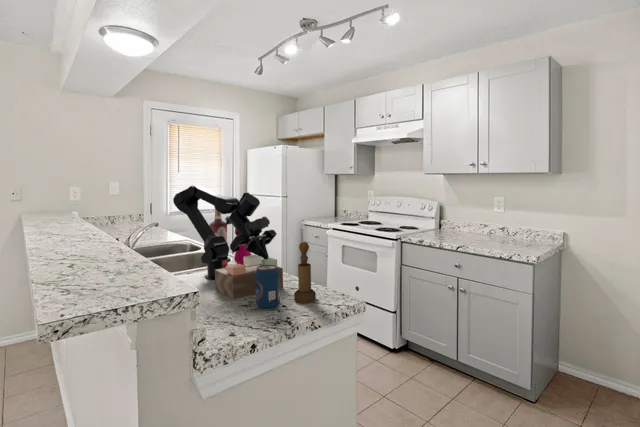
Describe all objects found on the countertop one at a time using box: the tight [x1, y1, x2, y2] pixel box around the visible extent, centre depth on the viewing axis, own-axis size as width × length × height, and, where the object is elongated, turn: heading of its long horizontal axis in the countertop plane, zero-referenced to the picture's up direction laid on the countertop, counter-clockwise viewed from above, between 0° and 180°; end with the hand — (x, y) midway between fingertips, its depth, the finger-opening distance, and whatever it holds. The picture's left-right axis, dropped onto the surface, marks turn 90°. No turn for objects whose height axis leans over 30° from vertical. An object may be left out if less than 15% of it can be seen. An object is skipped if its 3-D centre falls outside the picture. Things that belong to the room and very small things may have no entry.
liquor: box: [208, 206, 229, 268], centre depth 158 cm, size 7×7×28 cm
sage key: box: [260, 257, 278, 267], centre depth 128 cm, size 4×4×2 cm
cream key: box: [244, 254, 263, 266], centre depth 124 cm, size 4×4×2 cm
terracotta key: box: [226, 263, 246, 276], centre depth 120 cm, size 4×4×2 cm
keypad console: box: [214, 264, 284, 300], centre depth 127 cm, size 14×18×7 cm
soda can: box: [255, 265, 281, 311], centre depth 108 cm, size 7×7×12 cm
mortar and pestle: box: [293, 241, 317, 304], centre depth 114 cm, size 7×6×18 cm
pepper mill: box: [233, 228, 252, 265], centre depth 157 cm, size 7×7×20 cm
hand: (267, 258), depth 128 cm, fingers closed, pressing on sage key
